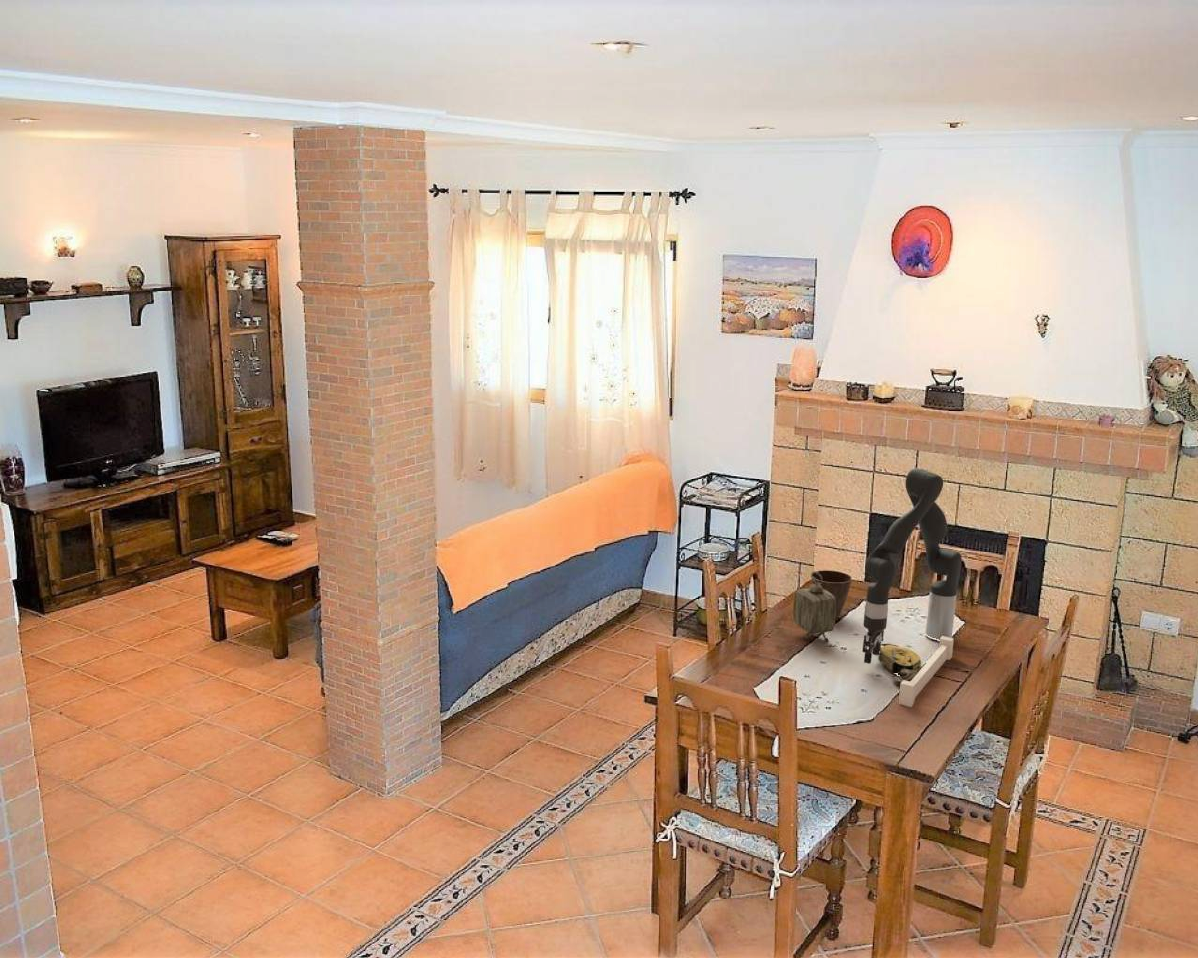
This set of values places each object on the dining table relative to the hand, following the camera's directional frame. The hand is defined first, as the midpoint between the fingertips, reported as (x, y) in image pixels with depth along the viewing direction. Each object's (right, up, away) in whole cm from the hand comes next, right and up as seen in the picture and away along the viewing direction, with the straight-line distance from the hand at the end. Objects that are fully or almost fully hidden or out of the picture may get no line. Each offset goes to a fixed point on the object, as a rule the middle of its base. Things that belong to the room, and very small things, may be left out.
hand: (871, 658), depth 372 cm
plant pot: (-5, +9, +46) cm, 47 cm away
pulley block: (+9, -4, -3) cm, 10 cm away
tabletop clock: (-16, +3, +24) cm, 29 cm away
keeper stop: (+16, -5, -9) cm, 19 cm away
